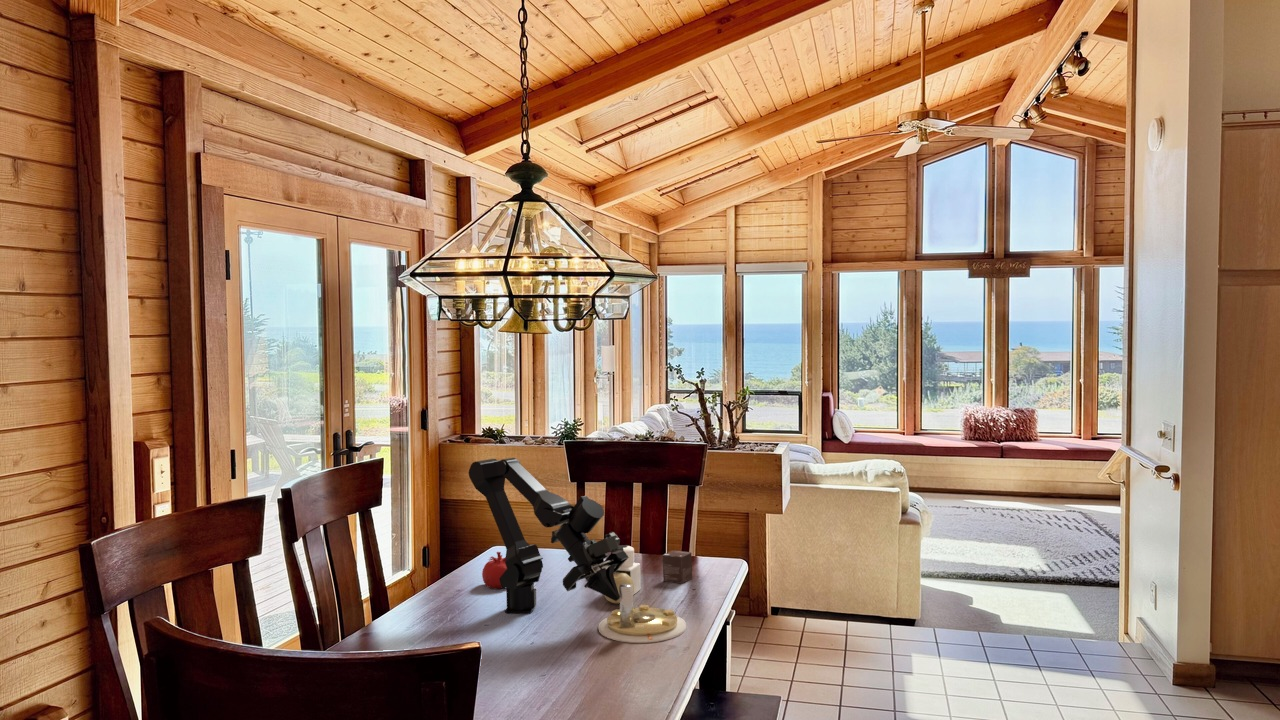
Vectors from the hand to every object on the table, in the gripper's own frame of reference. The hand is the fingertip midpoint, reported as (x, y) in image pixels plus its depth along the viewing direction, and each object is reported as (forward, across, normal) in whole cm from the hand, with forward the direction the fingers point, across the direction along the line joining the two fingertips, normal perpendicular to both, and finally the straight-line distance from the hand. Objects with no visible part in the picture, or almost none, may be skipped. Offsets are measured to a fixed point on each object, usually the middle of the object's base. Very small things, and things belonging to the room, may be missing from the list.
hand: (618, 599), depth 190 cm
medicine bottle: (-7, +26, +17) cm, 31 cm away
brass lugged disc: (+7, +5, +3) cm, 9 cm away
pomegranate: (-30, +14, +40) cm, 52 cm away
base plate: (+7, +5, +3) cm, 9 cm away
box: (-2, +42, +13) cm, 44 cm away
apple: (-4, +19, +15) cm, 24 cm away
